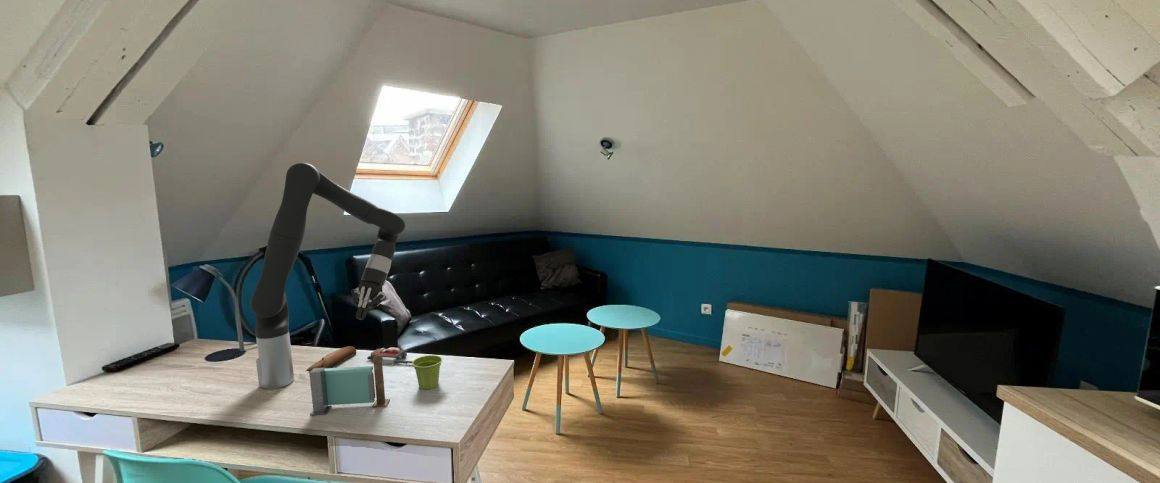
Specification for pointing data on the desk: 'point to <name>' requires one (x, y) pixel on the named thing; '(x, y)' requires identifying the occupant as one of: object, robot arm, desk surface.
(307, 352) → the desk surface
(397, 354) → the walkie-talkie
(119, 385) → the desk surface
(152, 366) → the desk surface
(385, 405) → the hinge post
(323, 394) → the latch post
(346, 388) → the gate
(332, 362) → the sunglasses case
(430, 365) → the plant pot
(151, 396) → the desk surface
